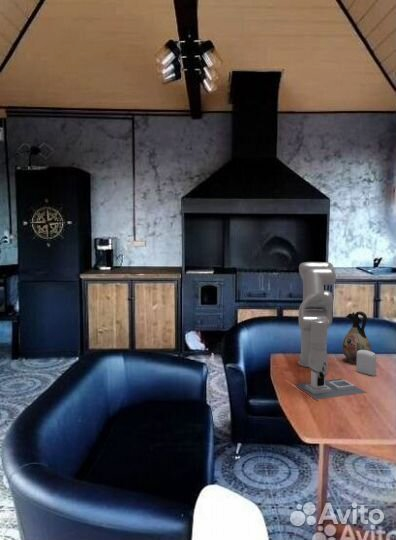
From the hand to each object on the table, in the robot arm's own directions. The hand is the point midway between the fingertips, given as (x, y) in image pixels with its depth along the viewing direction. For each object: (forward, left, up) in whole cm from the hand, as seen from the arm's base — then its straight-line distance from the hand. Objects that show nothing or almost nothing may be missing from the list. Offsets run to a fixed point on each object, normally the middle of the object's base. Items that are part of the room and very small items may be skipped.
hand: (317, 383), depth 204 cm
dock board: (0, +6, -4) cm, 8 cm away
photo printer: (-15, +38, -4) cm, 42 cm away
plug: (0, 0, -2) cm, 2 cm away
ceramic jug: (-33, +46, -4) cm, 57 cm away
